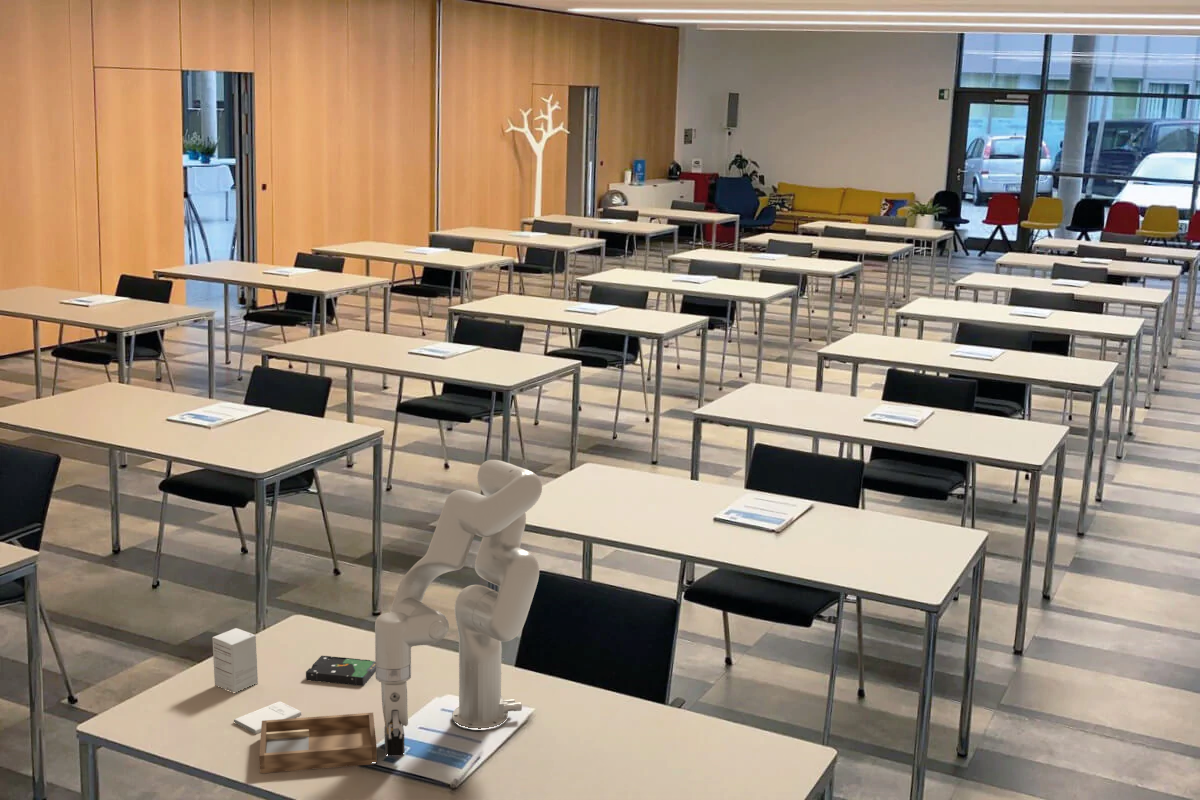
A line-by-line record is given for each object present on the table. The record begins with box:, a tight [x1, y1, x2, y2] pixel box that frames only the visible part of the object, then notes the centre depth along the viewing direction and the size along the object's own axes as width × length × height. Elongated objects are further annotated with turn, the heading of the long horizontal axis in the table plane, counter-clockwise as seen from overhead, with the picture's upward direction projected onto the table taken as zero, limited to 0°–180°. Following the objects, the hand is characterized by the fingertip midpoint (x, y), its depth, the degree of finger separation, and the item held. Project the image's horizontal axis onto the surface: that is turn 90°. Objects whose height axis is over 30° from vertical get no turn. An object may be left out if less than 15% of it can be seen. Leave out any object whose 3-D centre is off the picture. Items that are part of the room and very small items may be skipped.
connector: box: [383, 723, 405, 756], centre depth 283 cm, size 4×4×6 cm
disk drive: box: [305, 655, 376, 687], centre depth 320 cm, size 10×3×15 cm
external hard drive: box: [233, 700, 302, 735], centre depth 297 cm, size 2×8×12 cm
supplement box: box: [211, 627, 259, 694], centre depth 312 cm, size 7×7×13 cm
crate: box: [258, 712, 378, 774], centre depth 283 cm, size 24×16×4 cm, turn 102°
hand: (393, 744), depth 283 cm, fingers open, 9 cm apart
